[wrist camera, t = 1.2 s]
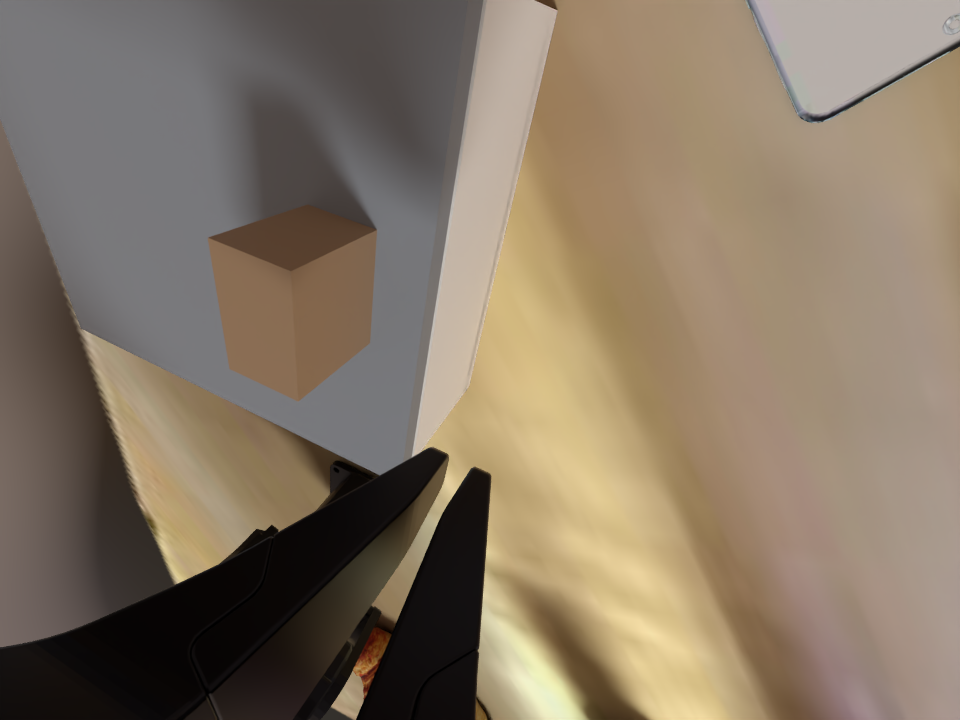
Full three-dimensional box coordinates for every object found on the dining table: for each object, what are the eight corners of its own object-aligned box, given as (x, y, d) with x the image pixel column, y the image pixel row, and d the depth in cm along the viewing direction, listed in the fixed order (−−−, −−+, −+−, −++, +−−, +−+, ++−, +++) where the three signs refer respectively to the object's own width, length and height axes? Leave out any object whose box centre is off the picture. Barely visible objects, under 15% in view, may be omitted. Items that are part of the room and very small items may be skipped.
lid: (409, 471, 19) (348, 555, 16) (97, 321, 23) (-6, 363, 20) (490, -46, 10) (375, -111, 6) (-75, -164, 13) (-341, -246, 10)
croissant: (531, 707, 48) (539, 795, 40) (460, 755, 49) (455, 849, 42) (388, 574, 44) (367, 643, 36) (318, 631, 46) (283, 708, 38)
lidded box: (469, 386, 24) (412, 462, 19) (201, 272, 28) (99, 313, 23) (557, 10, 15) (490, -20, 10) (135, -87, 18) (-59, -142, 14)
